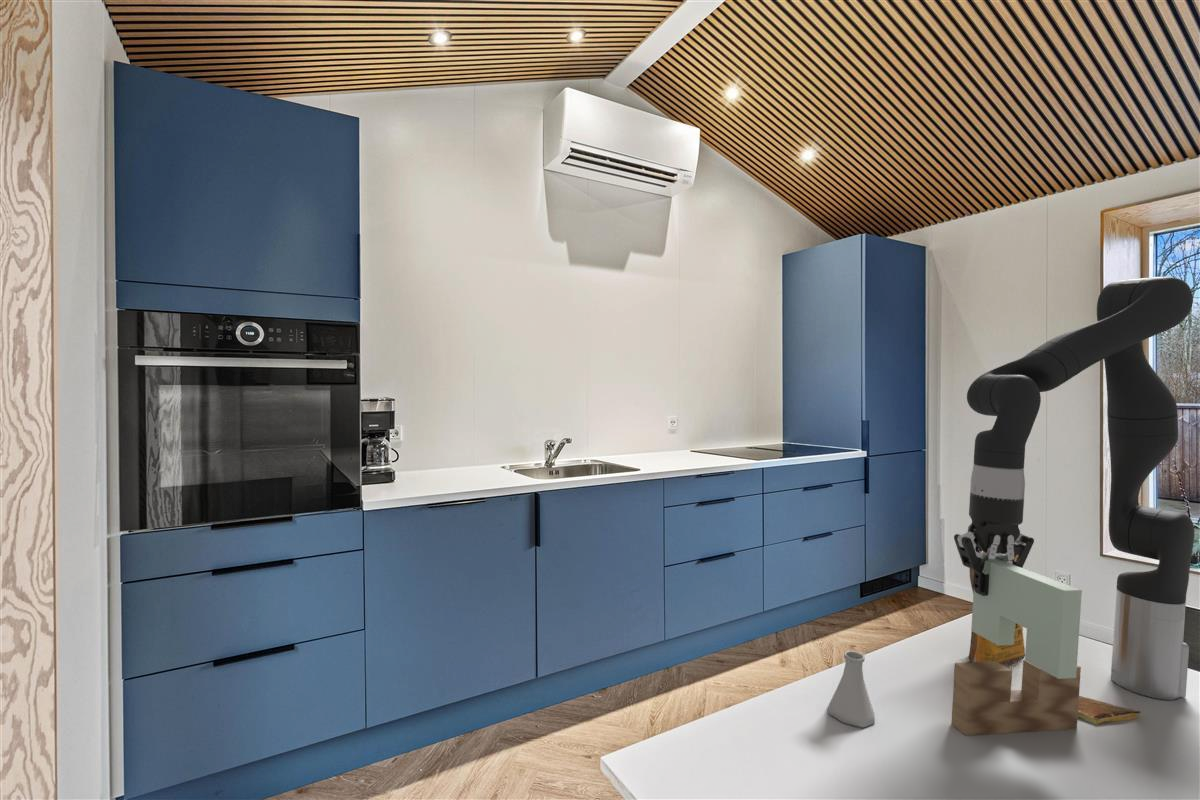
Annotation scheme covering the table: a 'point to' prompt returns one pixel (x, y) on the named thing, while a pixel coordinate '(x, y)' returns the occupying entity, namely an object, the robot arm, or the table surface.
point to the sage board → (1031, 616)
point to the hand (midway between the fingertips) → (990, 593)
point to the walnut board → (1012, 699)
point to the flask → (852, 694)
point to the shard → (1103, 711)
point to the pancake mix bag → (992, 652)
